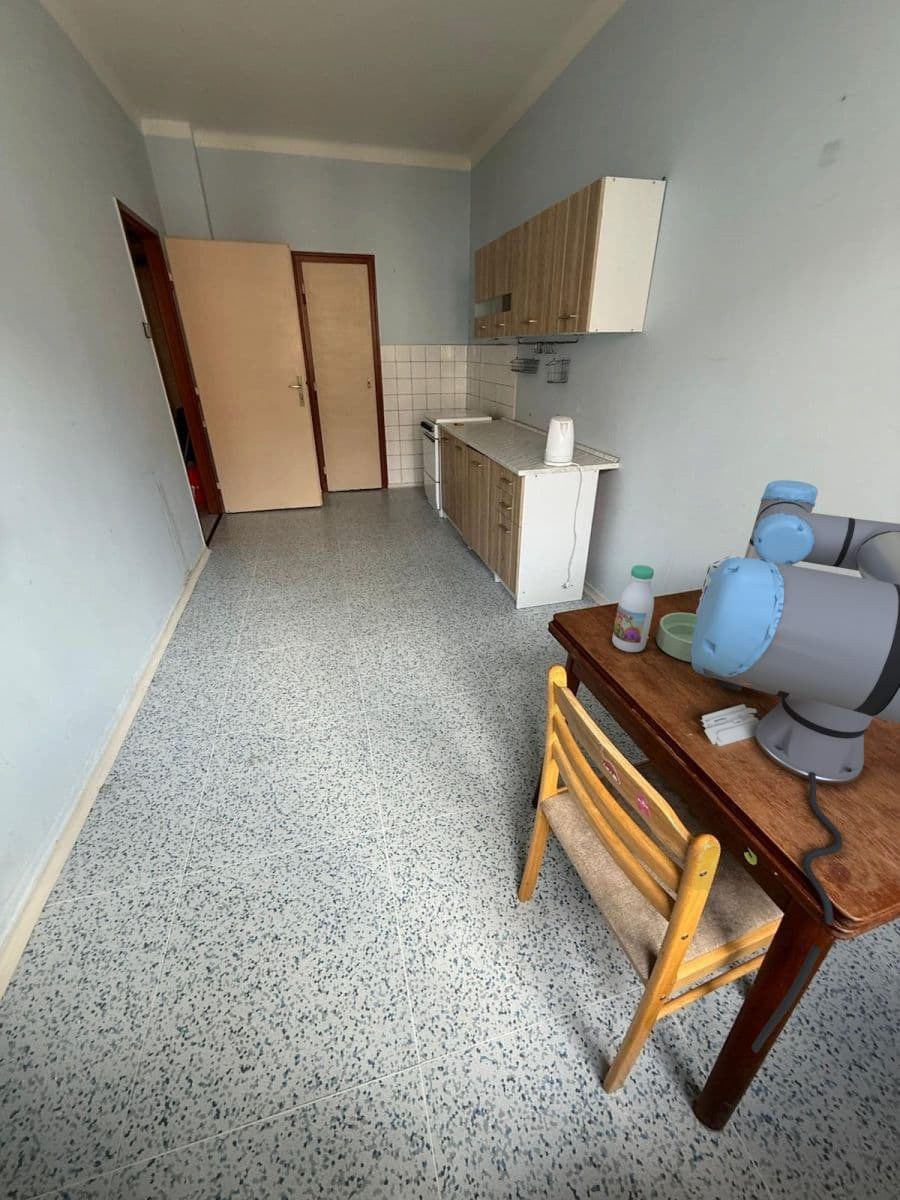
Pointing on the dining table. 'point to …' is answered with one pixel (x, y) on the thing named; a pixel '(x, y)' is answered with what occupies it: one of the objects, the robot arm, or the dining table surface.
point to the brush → (728, 685)
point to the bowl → (677, 634)
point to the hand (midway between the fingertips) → (732, 669)
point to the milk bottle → (634, 611)
